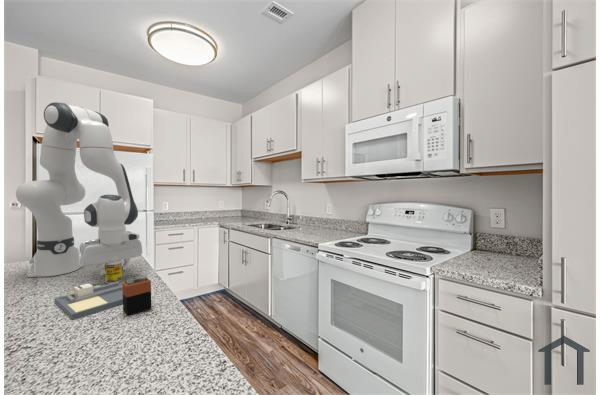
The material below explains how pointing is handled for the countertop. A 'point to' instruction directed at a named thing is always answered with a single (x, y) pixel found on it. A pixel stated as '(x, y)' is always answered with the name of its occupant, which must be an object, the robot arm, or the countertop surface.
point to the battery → (136, 295)
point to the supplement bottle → (113, 271)
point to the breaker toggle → (83, 290)
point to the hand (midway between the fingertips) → (113, 272)
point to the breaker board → (91, 300)
